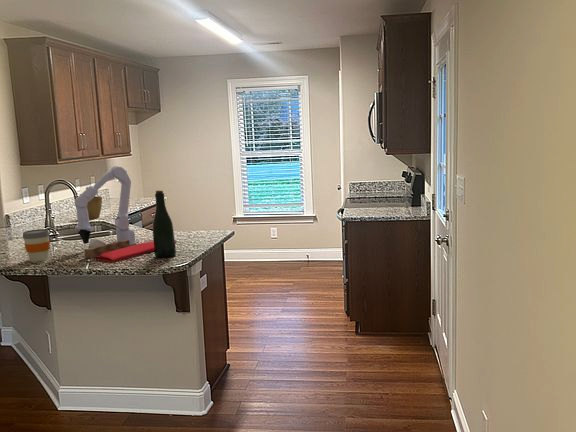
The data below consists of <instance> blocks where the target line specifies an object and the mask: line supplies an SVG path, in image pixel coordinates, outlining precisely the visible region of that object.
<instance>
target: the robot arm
mask: <svg viewBox="0 0 576 432" xmlns="http://www.w3.org/2000/svg"><path fill="white" fill-rule="evenodd" d="M114 179H117V180H118V182H119V183H120V184H121V186H120V194H119V197H120V198H119V204H118V212H117V215H116V218H115V219H114V226H115V227H116V229H115V232H116V233H115V234H116V242H118V241H122V240H129V242H130V246H132V245H136V244H137V242H136V236H135V230H134V229H133V228H131V227H130V221H129V213H128V212H129V205H130V195H131V188H132V186H131V185H132V181H131V179H130V175H129V174H128V173H127V170H126V169H124V168H123V167H122V166H117V165H116V166H115V165H114V166H112V167H111V168H110V169H109V170H107V171H106V172H105V173H104V174H103V175H102V176H101V177H100V178H99V179H98V180H97V181H96V183H94V185H88V186H86V187H85V190H84V191H83V192H82V193H80V194H79V195H78V196H77V197H76V198H75V199H74V204H75V206H76V208H75V209H76V219H77V225H75V226H74V230H75V231H77V230H79V231H77V233H78V234H79V236H80V238H81V240H82V242H83V244H85V245H87V244H89V243H90V236H91V233H92V232H93V231H95V226H91V225H90V219H89V217H88V210H87V204H88V202H89V201H91V200H92V199H93V198H94V197H95V196H97V195H98V191H99V189H101V188H102V187H103V186H104V185H105V184H106V183H107V182H108V181H110V180H114Z"/></svg>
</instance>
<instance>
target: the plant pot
mask: <svg viewBox="0 0 576 432" xmlns="http://www.w3.org/2000/svg"><path fill="white" fill-rule="evenodd" d="M102 203H103V196H100V195H99V196H97V195H96V196H95V197H94V198H93V199H92V200H91V201H89V202H88V204H87V210H88V217H89V220H95V219H99V218H100V217H101V216H100V215H101V210H102Z"/></svg>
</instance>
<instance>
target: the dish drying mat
mask: <svg viewBox="0 0 576 432" xmlns="http://www.w3.org/2000/svg"><path fill="white" fill-rule="evenodd" d="M176 244H177V241H176V240H175V245H176ZM152 252H154V242H153V239H152V240H148V241H144V242H141V243H136V244H132V245H130V246H129V247H125V248H121V249H117V250H113V251H109V252H105V253H102V254H100V256H96V257H94V260H95V259H99V260H98V261H101V260H103V261H102V262H107V261H108V263H115V262H119V261H123V260H127V259H128V260H129V259H130V258H134V257H137V256H138V257H139V256H141V255H145V254H148V253H152Z"/></svg>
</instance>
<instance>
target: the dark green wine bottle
mask: <svg viewBox="0 0 576 432" xmlns="http://www.w3.org/2000/svg"><path fill="white" fill-rule="evenodd" d="M154 198H155V212H154V216H153V220H152V240H153V242H154V251H153V252H154V256H155V258H157V259H165V258H166V259H167V258H172V257H175V256H176V254H177V250H176V244H175V241H176V240H175V232H174V226H173V221H172V218H171V217H170V214H169V213H168V210H167V206H166V201H165V200H166V199H165V193H164V191H163V189H161V190H159V189H158V190H155V194H154Z"/></svg>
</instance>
